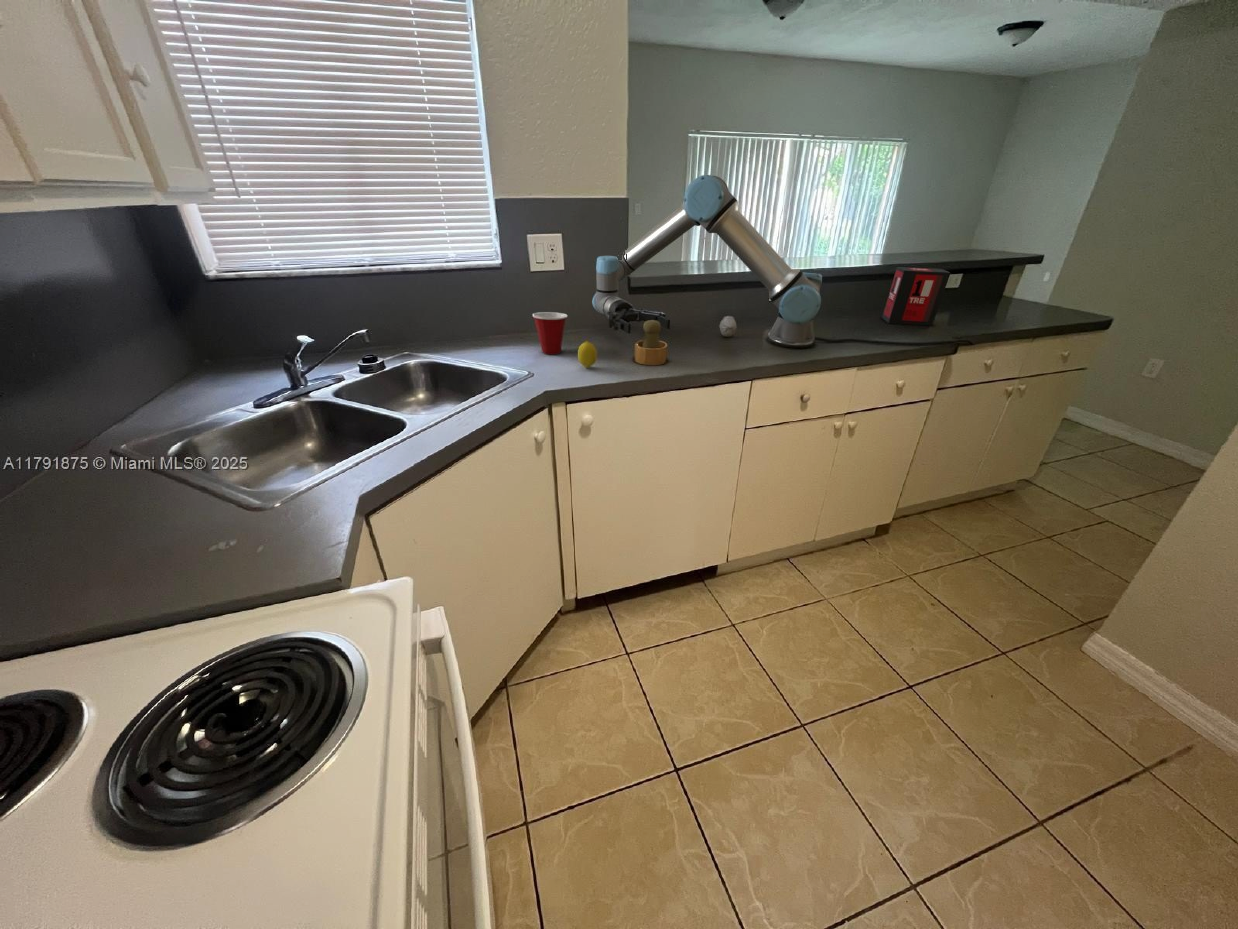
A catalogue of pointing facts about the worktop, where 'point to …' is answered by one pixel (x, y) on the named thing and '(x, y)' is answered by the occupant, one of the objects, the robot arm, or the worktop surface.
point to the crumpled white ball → (728, 326)
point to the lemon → (587, 354)
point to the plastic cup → (550, 330)
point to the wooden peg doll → (651, 334)
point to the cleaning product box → (915, 295)
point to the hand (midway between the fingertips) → (649, 326)
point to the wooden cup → (650, 354)
